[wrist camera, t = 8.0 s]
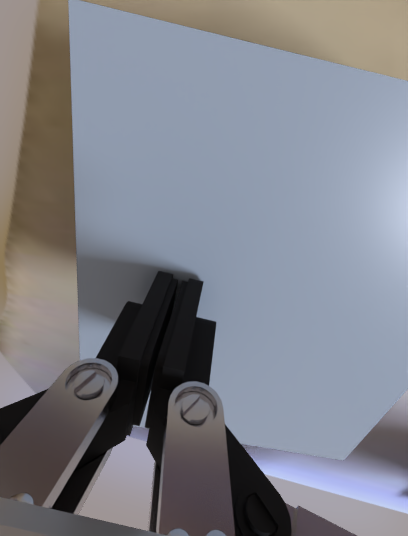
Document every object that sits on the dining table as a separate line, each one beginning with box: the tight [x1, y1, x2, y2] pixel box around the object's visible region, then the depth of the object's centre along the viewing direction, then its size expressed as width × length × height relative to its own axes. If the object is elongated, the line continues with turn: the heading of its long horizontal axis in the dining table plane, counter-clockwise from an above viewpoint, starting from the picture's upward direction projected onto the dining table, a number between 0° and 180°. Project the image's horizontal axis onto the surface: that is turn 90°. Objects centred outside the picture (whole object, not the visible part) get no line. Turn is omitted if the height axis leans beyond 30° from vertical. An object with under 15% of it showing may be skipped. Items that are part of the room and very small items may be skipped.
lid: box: [68, 0, 408, 461], centre depth 12 cm, size 16×14×1 cm
